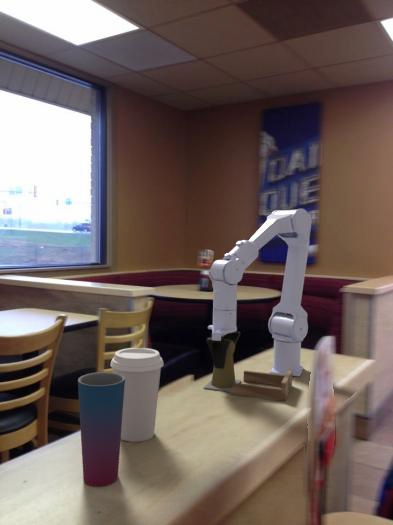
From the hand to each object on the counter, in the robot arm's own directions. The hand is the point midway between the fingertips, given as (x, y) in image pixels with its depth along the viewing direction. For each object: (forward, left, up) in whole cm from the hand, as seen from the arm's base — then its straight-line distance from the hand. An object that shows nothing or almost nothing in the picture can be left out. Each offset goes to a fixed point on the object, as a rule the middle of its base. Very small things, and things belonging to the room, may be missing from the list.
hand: (223, 364), depth 115 cm
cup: (+50, -5, -5) cm, 51 cm away
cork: (0, 0, -5) cm, 5 cm away
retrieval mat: (0, 0, -5) cm, 5 cm away
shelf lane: (0, +10, -5) cm, 11 cm away
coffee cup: (+34, -7, -5) cm, 35 cm away
